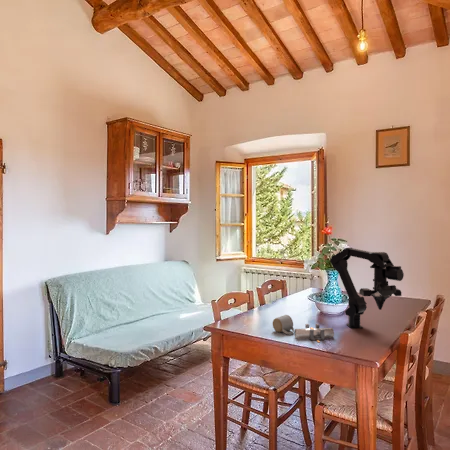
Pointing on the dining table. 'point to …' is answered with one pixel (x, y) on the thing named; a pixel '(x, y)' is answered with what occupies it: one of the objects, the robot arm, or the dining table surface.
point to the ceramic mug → (283, 324)
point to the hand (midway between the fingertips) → (379, 309)
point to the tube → (306, 333)
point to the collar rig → (313, 333)
